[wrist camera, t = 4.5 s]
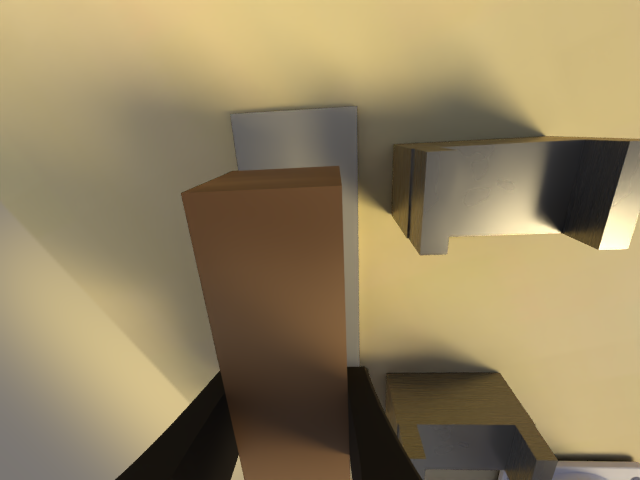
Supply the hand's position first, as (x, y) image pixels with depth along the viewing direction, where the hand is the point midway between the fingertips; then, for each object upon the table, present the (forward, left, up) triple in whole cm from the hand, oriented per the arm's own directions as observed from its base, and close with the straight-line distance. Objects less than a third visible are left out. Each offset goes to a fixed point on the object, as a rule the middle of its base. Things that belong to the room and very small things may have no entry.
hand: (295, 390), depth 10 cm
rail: (0, 0, -2) cm, 2 cm away
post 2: (-6, -7, -5) cm, 11 cm away
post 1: (+6, -7, -5) cm, 11 cm away
